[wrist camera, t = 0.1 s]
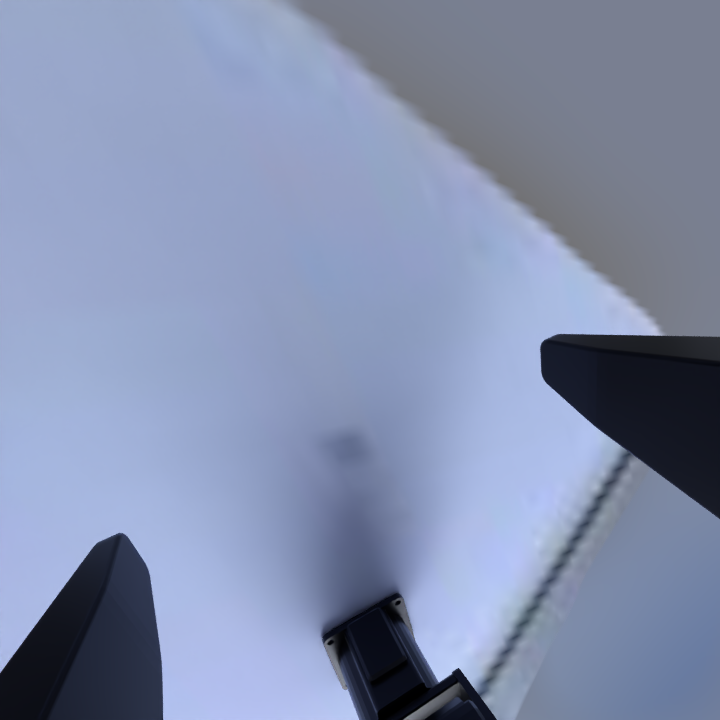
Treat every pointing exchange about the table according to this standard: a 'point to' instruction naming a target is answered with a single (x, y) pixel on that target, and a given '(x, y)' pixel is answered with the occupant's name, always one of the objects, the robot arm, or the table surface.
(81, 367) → the table surface
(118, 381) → the table surface
